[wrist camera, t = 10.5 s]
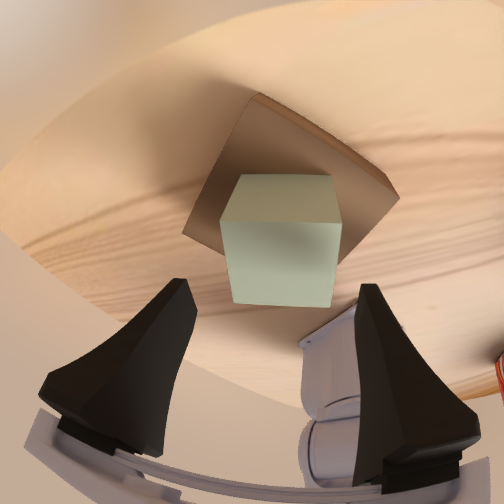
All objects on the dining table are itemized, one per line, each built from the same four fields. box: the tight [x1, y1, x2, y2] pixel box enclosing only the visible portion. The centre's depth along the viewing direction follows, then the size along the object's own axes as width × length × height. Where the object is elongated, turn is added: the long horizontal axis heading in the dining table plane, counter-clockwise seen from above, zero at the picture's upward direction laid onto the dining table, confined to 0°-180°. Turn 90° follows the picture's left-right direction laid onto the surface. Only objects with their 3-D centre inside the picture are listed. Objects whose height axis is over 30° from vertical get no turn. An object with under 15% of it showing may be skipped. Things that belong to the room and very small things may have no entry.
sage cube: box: [220, 174, 342, 308], centre depth 15 cm, size 5×5×5 cm
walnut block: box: [182, 93, 400, 265], centre depth 18 cm, size 10×10×4 cm
